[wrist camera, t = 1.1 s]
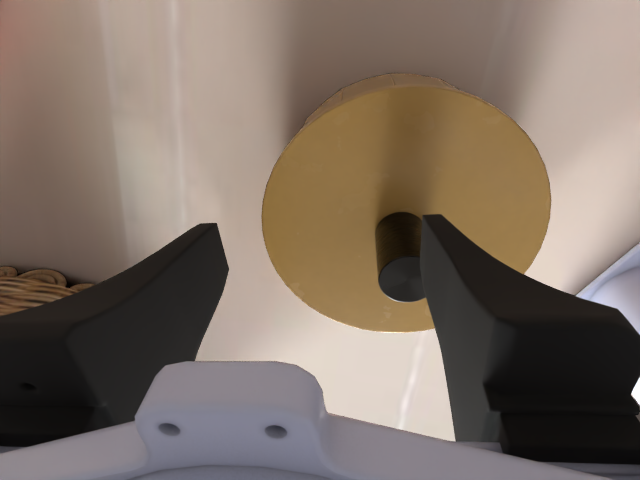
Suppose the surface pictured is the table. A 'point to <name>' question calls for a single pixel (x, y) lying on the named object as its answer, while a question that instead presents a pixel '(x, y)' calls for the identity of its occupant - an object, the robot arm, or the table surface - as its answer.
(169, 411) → the robot arm
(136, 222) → the table surface
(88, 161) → the table surface
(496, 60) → the table surface
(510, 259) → the tin lid
